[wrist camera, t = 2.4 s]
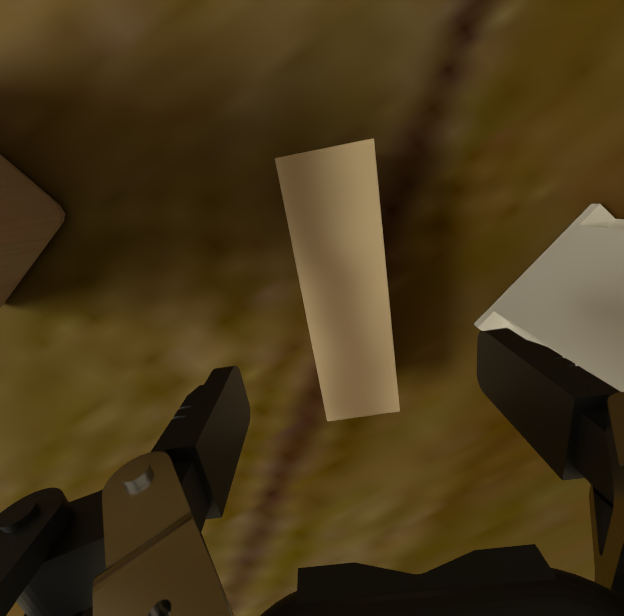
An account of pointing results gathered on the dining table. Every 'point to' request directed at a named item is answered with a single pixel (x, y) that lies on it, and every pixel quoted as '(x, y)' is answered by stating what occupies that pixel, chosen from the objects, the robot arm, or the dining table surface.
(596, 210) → the peg cradle
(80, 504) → the robot arm
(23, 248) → the wooden block
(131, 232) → the dining table surface
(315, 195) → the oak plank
